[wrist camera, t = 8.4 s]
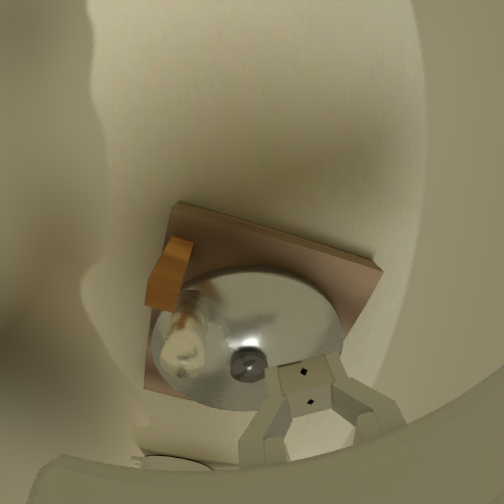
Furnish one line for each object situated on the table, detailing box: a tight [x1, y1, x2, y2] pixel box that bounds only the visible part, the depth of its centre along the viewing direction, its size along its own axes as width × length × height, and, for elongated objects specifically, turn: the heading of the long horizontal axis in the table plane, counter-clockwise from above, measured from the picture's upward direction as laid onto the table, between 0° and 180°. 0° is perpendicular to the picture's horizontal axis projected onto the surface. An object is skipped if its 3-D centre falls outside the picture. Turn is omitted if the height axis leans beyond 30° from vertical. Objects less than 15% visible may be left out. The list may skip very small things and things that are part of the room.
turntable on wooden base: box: [144, 202, 383, 411], centre depth 21 cm, size 20×17×8 cm
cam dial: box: [151, 266, 343, 411], centre depth 19 cm, size 16×16×7 cm
